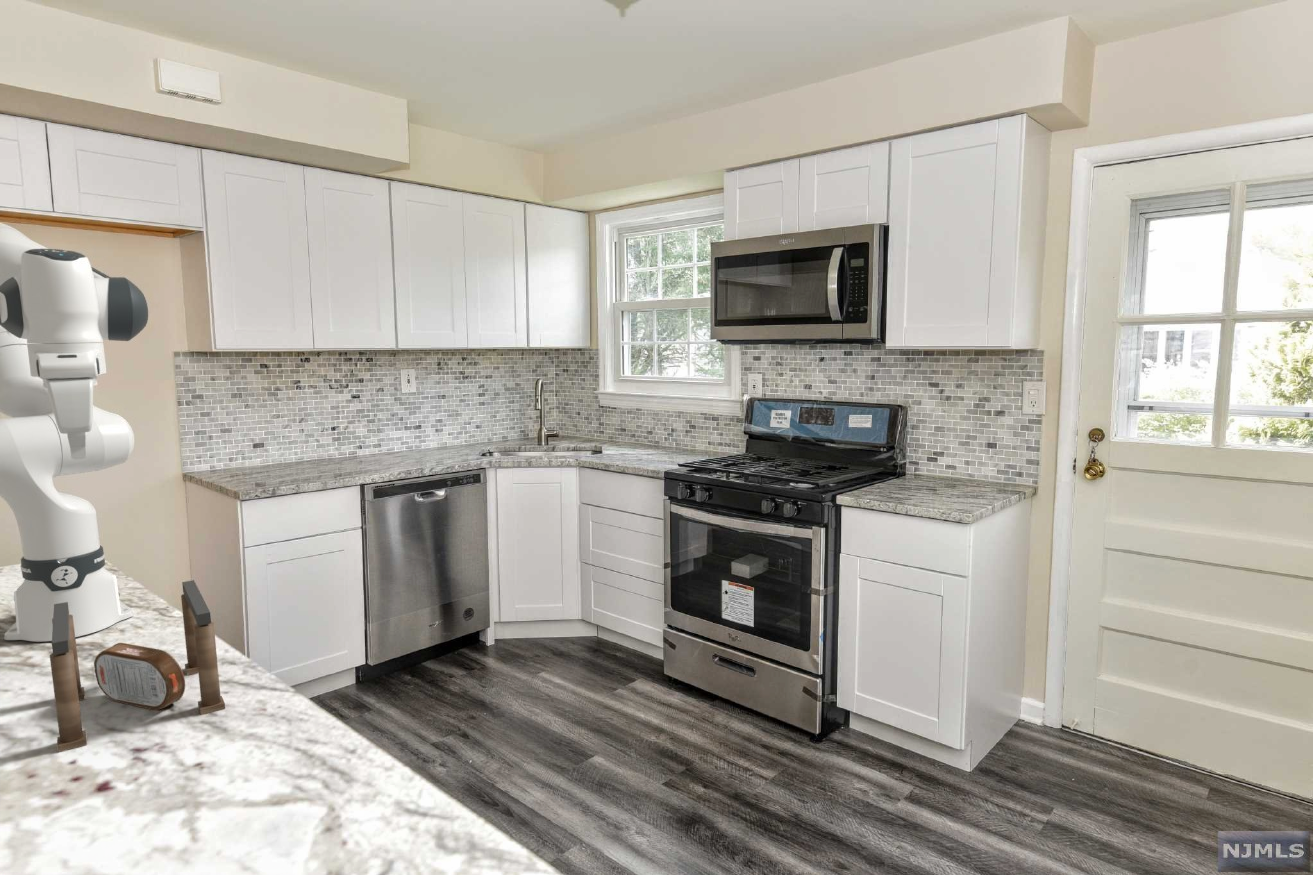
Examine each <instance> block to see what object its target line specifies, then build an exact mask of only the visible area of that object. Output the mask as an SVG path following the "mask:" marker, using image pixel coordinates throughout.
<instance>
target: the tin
mask: <svg viewBox="0 0 1313 875" xmlns="http://www.w3.org/2000/svg"><path fill="white" fill-rule="evenodd" d="M93 666H94V674H95V677H96V681H97V682H96V683H97V686H98V687H99V689H100V690H101V692H102V693H103V694H104V695H105V696H106V697H107V698H109V699H110V700H112V701H114V702H116V703H121V704H126V705H129V706H135V707H139V708H143V709H149V710H155V711H157V710H162V709H164V708H166V707H168V706H169V705H171V704H174V703H177V702H179V701H180V700H181V699H182V698H183V696H184V693H185V691H186V680H185V674H184V672H183V669H182V668H181V666H180V663H178V661H177V660H176V659H175V657H173V656H172V655H171V654H170V653H168V652H166V651H165V650H162V649H160V648H153V647H147V646H144V645H143V646H141V645H136V644H131V643H126V642H117V643H115V644H114V645H112V646H111V647H108V648H107V649H104V650H102V651H101V652H99V653H98V654H97V655H96V656H95V659H94V661H93Z"/></svg>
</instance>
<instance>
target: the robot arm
mask: <svg viewBox="0 0 1313 875" xmlns="http://www.w3.org/2000/svg"><path fill="white" fill-rule="evenodd" d="M148 320H149V307H148V301H147V299H146V297H145V295H144V293H143V292H142V290H141V289H140V288H139V287H138V286H137V285H136V284H134V283H133V282H132V281H131V280H130V279H128V278H126V277H124V276H123V277H122V276H121V277H116V276H115V277H111V276H109V275H107V274H105V272H104V273H103V272H101V271H100V270H98V269H97V268H94V267H93V266H92V264H91V262H90V260H89V257H87V255H84V254H83V253H81V252H77V251H73V250H63V249H58V248H57V249H56V248H49V247H46V246H44V245H42V244H40V243H38V242H36V241H34V240H32V239H30V237H28V236H26V235H25V234H24V233H23V232H21V231H20V230H19V229H17V228H15V227H13V226H10V225H9V224H7V223H6V224H5V223H2V222H0V413H1V414H2V415H5V416H8V417H7V418H0V498H2V499H3V500H4V501H5V502H6V503H7V504H8V507H9V508H10V509H11V510H12V513H13V515H14V517H15V520H16V523H17V527H18V531H19V536H20V543H21V547H22V555H23V556H22V557H21V558H20V571H21V575H22V578H23V579H24V580H23V582H22V583H21V584H20V585H19V586H18V587H17V589H16V590H15V591H14V593H13V602H14V610H15V622H14V623H13V624H12V625H11V626H10V627H9V629H8V630H7V631H6V632H5V633H4V640H5V641H28V642H37V643H38V642H52V630H53V624H52V619H53V613H54V604H59V603H64V602H68V608H69V615H73V622H74V631H75V638H79V637H81V636H86V635H90V634H93V633H95V632H99V631H101V630H104V629H107V628H109V627H111V626H113V625H115V624H116V623H118V622H121V621H124V620H126V619H130V618H131V617H134V611H133V609H131V608H130V607H129V606H128V605H126V604H125V603H124V602H122V601H121V600H120V592H119V588H118V582H117V581H118V580H117V576H116V575H115V574H113V573H112V572H110V571H108V570H107V569H106V568H105V565H106V561H105V558H106V554H105V551H104V547H103V546H102V545H101V543H100V533H99V525H98V517H97V510H96V508H95V507H94V505H93V503H91V502H90V501H89V500H88V499H86V498H83V497H79V496H77V495H73V494H70V493H67V492H66V493H65V492H62V491H61V492H60V491H58V490H57V489H56V487H55V484H54V480H53V479H54V478H56V477H61V476H68V475H69V476H70V475H75V474H84V473H91V472H98V471H102V470H105V469H108V468H112V467H115V466H117V465H118V466H119V465H121V464H123V463H126V462H127V461H128V459H130V457H131V456H132V454H133V452H134V448H135V443H136V442H135V441H136V439H135V434H134V431H133V428H132V426H131V425H130V423H129V422H128V421H127V420H126V419H125V418H124V417H122V416H121V415H120V414H118V413H114V412H111V411H107V410H105V409H103V408H100V407H97V406H96V405H94V387H96V386H98V385H99V384H98V377H99V376H101V375H107V363H106V353H105V347H104V340H105V341H107V340H108V341H115V342H116V341H118V342H129V341H131V340H132V339H133V338H134V337H136V336H138V335H139V334H140V333H141V332H142V331H143V330H144V328H145V327H146V326H147V324H148Z"/></svg>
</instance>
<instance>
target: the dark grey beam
mask: <svg viewBox="0 0 1313 875" xmlns="http://www.w3.org/2000/svg"><path fill="white" fill-rule="evenodd" d="M181 583H182V584H181V585H182V592H183V593H182V594H184V595H185V597H186V600H187V602H188V604H189V606H190V609H191V611H192V613H193V616H194V618H195V620H196V622H197V625H198V626H200V625H205V624H210V623H211V622H212V618H211V617H212V616H211V611H210V609H209V608H208V605H207V603H206V601H205V599H204V597H203V594H202V593H201V591H200V590H199V588H198V585H197V583H196V582H195V580H192V579H191V580H186V581H182V582H181Z"/></svg>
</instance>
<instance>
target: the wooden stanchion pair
mask: <svg viewBox="0 0 1313 875" xmlns="http://www.w3.org/2000/svg"><path fill="white" fill-rule="evenodd" d="M180 598H181V609H182V620H183V621H182V622H183V631H184V639H185V648H186V649H185V650H186V660H187V663H184V669H185V672H186V675H187V676H190V675H194V674H198V684H199V691H200V692H199V693H200V700H199V701H197V707H198V709H199V713H200V715H201V716H203V715H206V714H209V713H213V712H217V711H221V710H225V709H226V704H225V701H224V698H223V696H222V695H221V690H220V689H221V688H220V678H219V666H218V656H217V645H216V644H217V643H216V634H215V623H214V622H213V621H211V623H210V624H205V625H200V626H198V625H197V622H196V620H195V618H194V616H193V613H192V611H191V609H190V606H189V604H188V602H187V600H186V597H185V595H184V593H182V594H181V595H180ZM52 624H53V619H52ZM77 649H78V648H77V640H76V637H75V631H74V622H73V615H69V652H67V653H62V654H57V655H53V652H52V653H51V654H50V655H49V661H50V662H49V663H50V670H51V676H52V678H51V679H52V686H53V693H54V703H55V709H56V718H57V727H58V735H59V736H57V737H56V742H57V743H56V749H57V753H60V752H61V753H62V752H65V751H69V750H72V749H75V748H80V747H85V746H87V744H88V743H87V740H88V739H87V730H86V729H84V730H83V723H82V716H81V708H80V701H83V700H86V693H85V687H84V686H82V683H81V675H80V674H81V673H80V666H79V665H80V664H79V657H78V650H77Z"/></svg>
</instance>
